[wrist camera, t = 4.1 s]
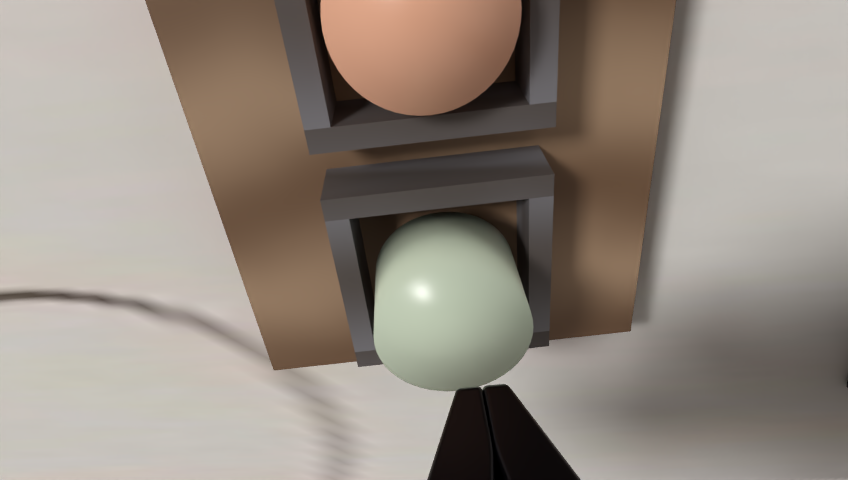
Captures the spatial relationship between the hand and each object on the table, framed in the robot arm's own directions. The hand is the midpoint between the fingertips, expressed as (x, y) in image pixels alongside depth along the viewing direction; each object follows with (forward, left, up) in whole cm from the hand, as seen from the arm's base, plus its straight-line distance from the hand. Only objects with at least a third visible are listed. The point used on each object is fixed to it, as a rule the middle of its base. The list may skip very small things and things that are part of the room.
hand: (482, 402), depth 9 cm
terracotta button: (+5, 0, -10) cm, 11 cm away
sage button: (-3, 0, -8) cm, 9 cm away
